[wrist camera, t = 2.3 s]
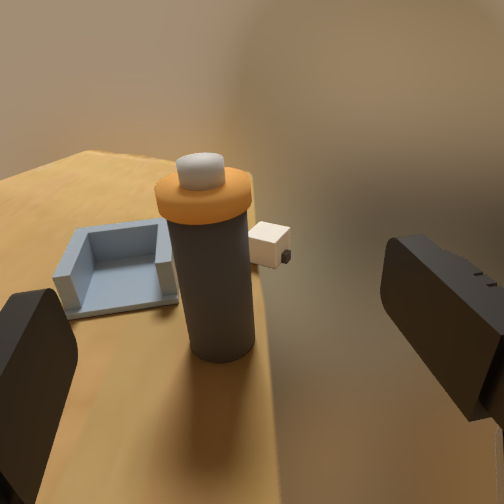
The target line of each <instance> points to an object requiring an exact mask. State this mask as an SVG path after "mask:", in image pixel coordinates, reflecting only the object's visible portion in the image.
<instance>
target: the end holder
mask: <svg viewBox="0 0 504 504" xmlns="http://www.w3.org/2000/svg"><path fill="white" fill-rule="evenodd" d="M52 279H53V281H54V283H55V286H56V288H57V291H58V293H59V296H60V298H61V300H62V303H63V305H64V308H65V315H66V317H67V319H68V320H71V319H78V318H84V317H91V316H98V315H104V314H111V313H117V312H124V311H131V310H137V309H144V308H150V307H157V306H163V305H170V304H177V303H179V282H178V277H177V272H176V267H175V262H174V257H173V251H172V246H171V241H170V236H169V231H168V226H167V221H166V219H165V218H156V219H148V220H140V221H131V222H123V223H115V224H107V225H99V226H91V227H83V228H76V230H75V232H74V234H73V236H72V238H71V240H70V242H69V244H68V246H67V248H66V250H65V252H64V254H63V257H62V259H61V261H60V263H59V265H58V267H57V269H56V271H55V273H54V275H53V277H52Z"/></svg>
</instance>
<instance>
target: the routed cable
mask: <svg viewBox="0 0 504 504" xmlns="http://www.w3.org/2000/svg"><path fill="white" fill-rule="evenodd" d="M248 238H249V252H250V262H251V263H254V264H258V265H262V266H266V267H269V268H273V269H276V268H277V267H278V266H279V265H280V264H281V263H285V264H287V263H288V261H289V260H290V259H291V250H290V227H285V226H280V225H276V224H271V223H267V222H262V221H260V222H259V223H258V224H257V225H256V226H254V227H253V228H252V229H251V230H250V231H249V232H248Z"/></svg>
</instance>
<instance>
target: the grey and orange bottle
mask: <svg viewBox="0 0 504 504" xmlns="http://www.w3.org/2000/svg"><path fill="white" fill-rule="evenodd" d="M176 165H177V172H175V173H172V174H170V175H168V176H166V177H164V178H162V179H161V180H159V181H158V182H157V183H156V185H155V187H154V190H155V195H156V200H157V205H158V210H159V213H160V215H161V216H162V217H163V218H165V219H166V221H167V226H168V231H169V236H170V241H171V246H172V251H173V257H174V262H175V267H176V272H177V277H178V282H179V288H180V293H181V298H182V303H183V308H184V313H185V318H186V324H187V329H188V334H189V339H190V344H191V348H192V350H193V352H194V353H195V355H197V356H198V357H199V358H200V359H202V360H205V361H207V362H211V363H227V362H231V361H234V360H237V359H239V358H241V357H242V356H244V355H245V354H246V353H248V352H249V350H250V349H251V348H252V346H253V344H254V341H255V327H254V312H253V297H252V282H251V267H250V252H249V238H248V223H247V209H248V208H249V207H250V205H251V202H252V199H251V182H250V177H249V175H248V174H247V173H245V172H243V171H241V170H238V169H235V168H230V167H224V158H223V156H222V155H219V154H216V153H196V154H190V155H186V156H184V157H181V158H179V159H178V160H177V161H176Z"/></svg>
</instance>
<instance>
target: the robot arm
mask: <svg viewBox="0 0 504 504" xmlns="http://www.w3.org/2000/svg"><path fill="white" fill-rule="evenodd" d="M380 294H381V300H382V304H383V307H384V309H385V311H386V312H387V314H388V315H389V316H390V318H391V319H392V320H393V322H394V323H395V324H396V326H397V327H398V328H399V330H400V331H401V332H402V334H403V335H404V336H405V338H406V339H407V340H408V342H409V343H410V344H411V346H412V347H413V348H414V350H415V351H416V352H417V354H418V355H419V356H420V358H421V359H422V360H423V362H424V363H425V364H426V365H427V367H428V368H429V370H430V371H431V372H432V374H433V375H434V376H435V377H436V379H437V380H438V381H439V383H440V384H441V385H442V387H443V388H444V389H445V391H446V392H447V393H448V395H449V396H450V397H451V399H452V400H453V401H454V403H455V404H456V405H457V406H458V408H459V409H460V411H461V412H462V413H463V415H464V416H465V417H466V418H467V420H468V421H469V422H471V421H475V420H480V419H485V418H489V417H492V418H493V419H494V420H495V422H496V423H497V424H498V425H499V426H498V429H497V431H496V434H495V449H496V479H497V504H504V288H503V287H501V286H497V283H496V282H495V281H494V280H492V279H491V278H490V277H489V276H487V275H483V272H482V271H481V270H480V269H478V268H477V267H476V266H475V265H473V264H472V263H471V262H469V261H468V260H467V259H464V258H462V257H460V256H458V255H456V254H453V253H451V252H449V251H446V250H443V249H441V248H440V247H439V246H438V245H436V244H435V243H434V242H433V241H431V240H430V239H429V238H428V237H427V236H425V235H423V234H415V235H408V236H401V237H394V238H391V239H389V241H388V242H387V245H386V250H385V258H384V265H383V272H382V280H381V287H380ZM77 361H78V348H77V342H76V339H75V336H74V334H73V331H72V329H71V327H70V324H69V322H68V319H67V317H66V315H65V312H64V310H63V307H62V305H61V303H60V300H59V298H58V296H57V294H56V292H55V291H54V290H53V289H51V288H47V289H41V290H34V291H27V292H21V293H15V294H12V295H11V296H10V297H9V299H8V301H7V302H6V304H5V305H4V307H3V308H2V310H1V311H0V504H35V502H36V498H37V495H38V492H39V488H40V485H41V482H42V478H43V475H44V472H45V468H46V465H47V462H48V459H49V455H50V452H51V449H52V445H53V442H54V439H55V435H56V432H57V429H58V426H59V422H60V419H61V416H62V412H63V409H64V406H65V402H66V399H67V396H68V393H69V389H70V386H71V383H72V379H73V376H74V373H75V369H76V366H77Z"/></svg>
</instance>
